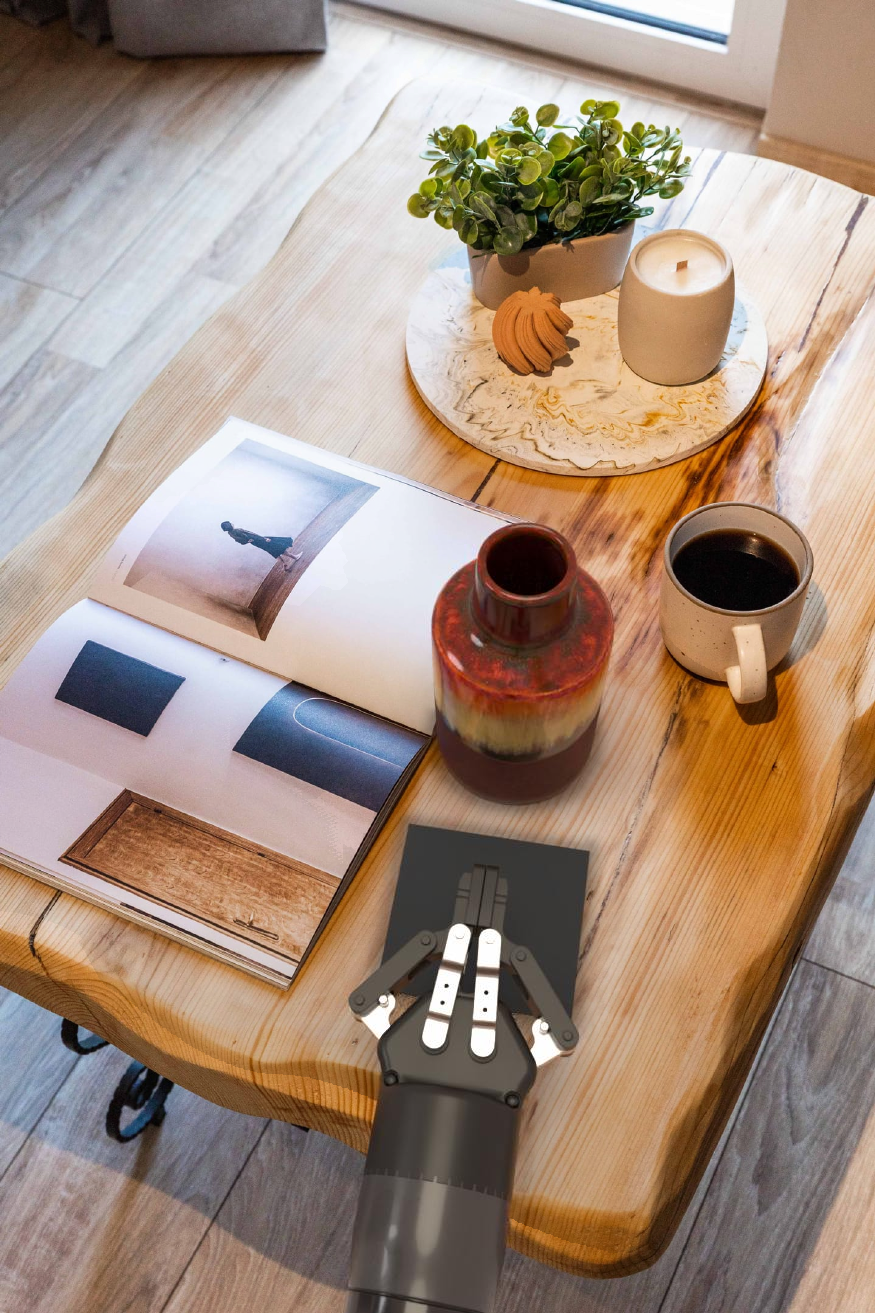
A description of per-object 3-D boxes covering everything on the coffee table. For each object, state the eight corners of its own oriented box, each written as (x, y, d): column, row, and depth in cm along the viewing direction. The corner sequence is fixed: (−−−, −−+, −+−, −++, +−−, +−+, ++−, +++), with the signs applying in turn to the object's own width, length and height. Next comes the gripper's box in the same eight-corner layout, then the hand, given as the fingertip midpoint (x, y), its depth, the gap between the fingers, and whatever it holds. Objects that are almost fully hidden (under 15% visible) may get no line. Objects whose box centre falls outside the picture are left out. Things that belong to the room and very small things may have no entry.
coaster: (376, 989, 68) (375, 988, 68) (409, 824, 74) (409, 823, 74) (570, 1022, 67) (571, 1021, 67) (589, 851, 72) (589, 851, 72)
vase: (524, 837, 73) (540, 683, 56) (404, 740, 77) (385, 568, 60) (624, 728, 77) (668, 552, 60) (505, 641, 81) (514, 452, 64)
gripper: (574, 1215, 51) (608, 863, 60) (296, 1164, 53) (369, 826, 61) (562, 1228, 58) (594, 908, 66) (315, 1182, 59) (378, 874, 68)
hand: (486, 869), depth 64 cm, fingers closed
